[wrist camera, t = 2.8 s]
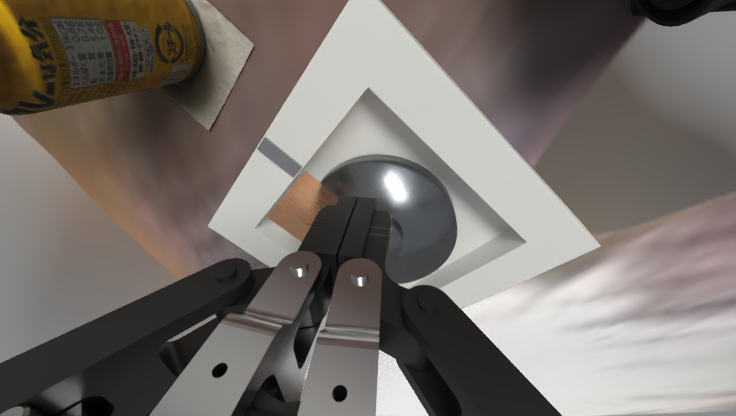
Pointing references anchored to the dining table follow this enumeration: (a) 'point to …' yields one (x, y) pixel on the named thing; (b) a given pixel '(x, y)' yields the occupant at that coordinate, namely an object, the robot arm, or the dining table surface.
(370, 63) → the panel
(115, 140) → the dining table surface
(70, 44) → the condiment
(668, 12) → the digital camera
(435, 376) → the robot arm
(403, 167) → the dial
